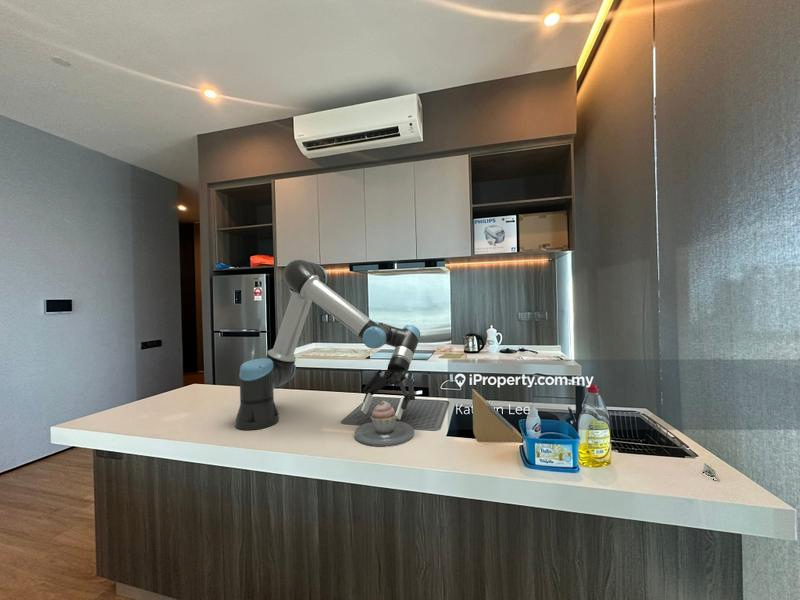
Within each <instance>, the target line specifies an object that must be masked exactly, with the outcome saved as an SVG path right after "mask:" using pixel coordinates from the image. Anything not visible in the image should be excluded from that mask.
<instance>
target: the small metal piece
mask: <svg viewBox="0 0 800 600" xmlns="http://www.w3.org/2000/svg"><path fill="white" fill-rule="evenodd" d="M701 470H702V471H703V472H704V473H705V474H706V475H707V476H710V477H715V478H716V479H718V476H717V473H716V470H715V469H713V468H712V466H711V465H710V466H709V465H708V464H707V463H704V464H703V469H701ZM702 471H701V472H702ZM703 472H702V473H703ZM718 480H719V479H718Z"/></svg>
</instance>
